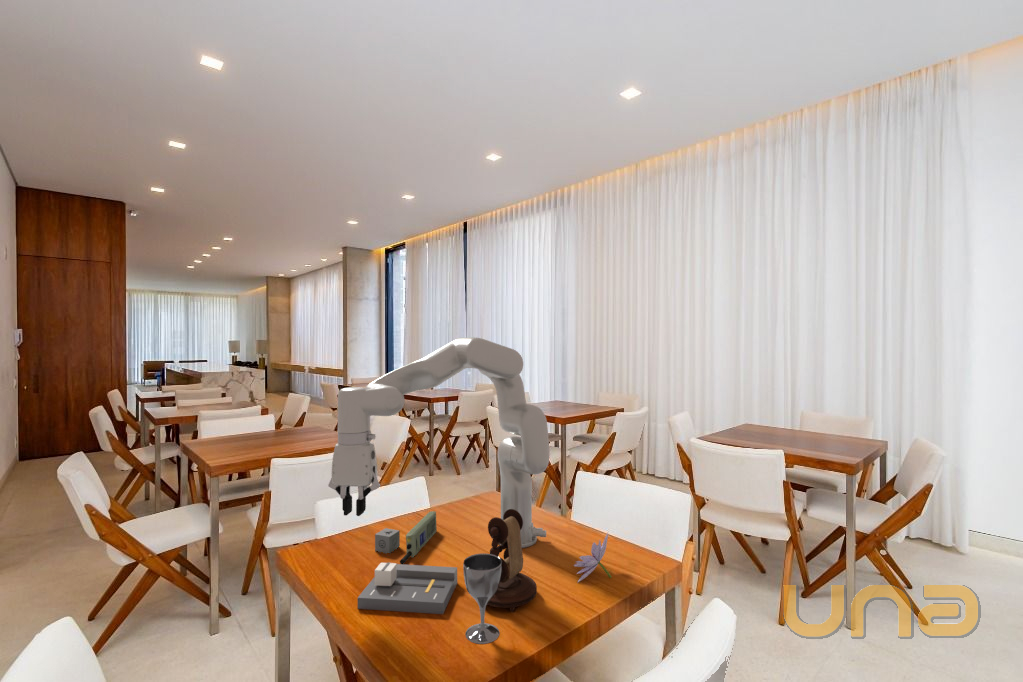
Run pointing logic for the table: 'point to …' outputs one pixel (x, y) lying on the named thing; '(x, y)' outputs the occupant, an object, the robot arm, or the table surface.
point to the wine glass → (482, 592)
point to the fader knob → (385, 574)
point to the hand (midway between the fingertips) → (354, 513)
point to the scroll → (510, 562)
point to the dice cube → (387, 540)
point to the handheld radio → (420, 535)
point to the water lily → (593, 559)
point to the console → (412, 590)
